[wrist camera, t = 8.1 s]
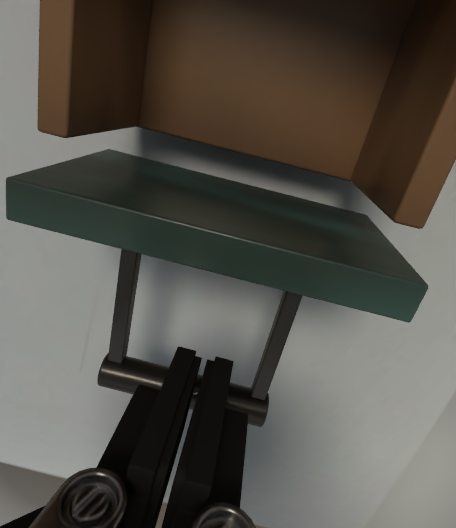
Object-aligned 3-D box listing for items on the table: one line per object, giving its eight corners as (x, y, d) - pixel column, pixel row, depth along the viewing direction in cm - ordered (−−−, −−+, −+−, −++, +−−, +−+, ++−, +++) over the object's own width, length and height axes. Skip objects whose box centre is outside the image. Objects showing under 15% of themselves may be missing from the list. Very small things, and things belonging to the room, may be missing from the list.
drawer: (303, 375, 19) (318, 502, 13) (91, 320, 19) (8, 422, 13) (526, -181, 11) (869, -562, 5) (148, -277, 11) (-13, -786, 5)
